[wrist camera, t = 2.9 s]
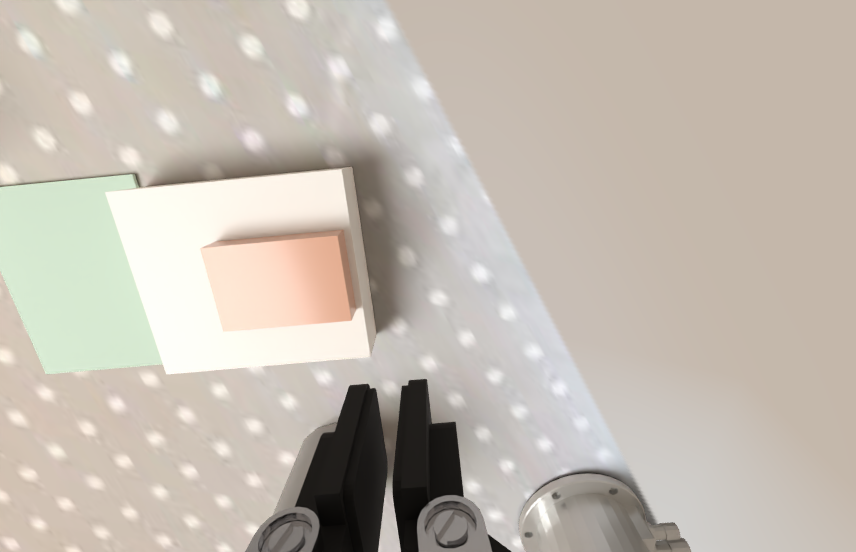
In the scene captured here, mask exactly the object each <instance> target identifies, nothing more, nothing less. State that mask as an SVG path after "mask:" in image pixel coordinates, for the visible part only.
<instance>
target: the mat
mask: <svg viewBox="0 0 856 552" xmlns="http://www.w3.org/2000/svg"><path fill="white" fill-rule="evenodd" d="M132 188H139V186H138V183H137V179H136V176H135V174H129V175H119V176H108V177H98V178H88V179H77V180H67V181H57V182H47V183H36V184H26V185H16V186H6V187H0V272H1V274H2V276H3V278H4V281H5V283H6V285H7V287H8V290H9V292H10V294H11V296H12V299H13V301H14V303H15V305H16V308H17V310H18V312H19V314H20V317H21V319H22V321H23V323H24V326H25V328H26V330H27V332H28V335H29V337H30V339H31V341H32V344H33V346H34V348H35V350H36V353H37V355H38V357H39V359H40V362H41V364H42V366H43V368H44V371H45V373H46V374H55V373H66V372H78V371H90V370H101V369H113V368H125V367H136V366H148V365H160V364H163V363H162V360H161V357H160V354H159V351H158V348H157V345H156V342H155V339H154V336H153V333H152V330H151V327H150V324H149V321H148V318H147V315H146V312H145V309H144V306H143V303H142V300H141V297H140V295H139V292H138V289H137V286H136V283H135V280H134V277H133V274H132V271H131V268H130V265H129V262H128V259H127V256H126V253H125V250H124V247H123V244H122V241H121V238H120V235H119V232H118V229H117V226H116V223H115V220H114V218H113V215H112V212H111V209H110V206H109V203H108V200H107V197H106V194H105V192H109V191H117V190H124V189H132Z"/></svg>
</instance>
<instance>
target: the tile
mask: <svg viewBox="0 0 856 552" xmlns="http://www.w3.org/2000/svg"><path fill="white" fill-rule="evenodd" d="M200 250H201V254H202V257H203V261H204V264H205V268H206V272H207V275H208V279H209V283H210V286H211V290H212V293H213V297H214V301H215V304H216V308H217V311H218V315H219V319H220V322H221V326H222V330H223V332H228V331H240V330H251V329H263V328H274V327H285V326H297V325H308V324H320V323H331V322H343V321H352V318H353V316H354V314H355V312H356V304H355V298H354V291H353V285H352V279H351V273H350V266H349V260H348V254H347V248H346V241H345V235H344V230H333V231H322V232H312V233H301V234H290V235H279V236H269V237H258V238H247V239H236V240H226V241H215V242H213V243H211V244H209V245H206V246H204V247H202V248H200Z"/></svg>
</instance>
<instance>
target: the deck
mask: <svg viewBox="0 0 856 552" xmlns="http://www.w3.org/2000/svg"><path fill="white" fill-rule="evenodd" d="M105 194H106V197H107V200H108V203H109V206H110V209H111V212H112V215H113V218H114V220H115V223H116V226H117V229H118V232H119V235H120V238H121V241H122V244H123V247H124V250H125V253H126V256H127V259H128V262H129V265H130V268H131V271H132V274H133V277H134V280H135V283H136V286H137V289H138V292H139V295H140V297H141V300H142V303H143V306H144V309H145V312H146V315H147V318H148V321H149V324H150V327H151V330H152V333H153V336H154V339H155V342H156V345H157V348H158V351H159V354H160V357H161V360H162V363H163V366H164V369H165V372H166V374H176V373H188V372H200V371H211V370H223V369H235V368H247V367H258V366H270V365H282V364H293V363H305V362H317V361H329V360H340V359H352V358H364V357H371V353H372V349H373V346H374V342H375V338H376V334H377V333H376V326H375V319H374V312H373V305H372V298H371V291H370V285H369V278H368V271H367V264H366V257H365V250H364V243H363V237H362V230H361V223H360V216H359V209H358V202H357V195H356V189H355V182H354V175H353V168H352V167H344V168H334V169H324V170H313V171H303V172H293V173H282V174H272V175H262V176H251V177H241V178H231V179H220V180H210V181H199V182H189V183H179V184H168V185H158V186H148V187H140V188H132V189H124V190H117V191H109V192H105ZM333 230H344V235H345V241H346V248H347V254H348V260H349V266H350V273H351V279H352V285H353V291H354V298H355V304H356V312H355V314H354V316H353V318H352V321H343V322H331V323H320V324H308V325H297V326H285V327H274V328H263V329H251V330H240V331H228V332H223V330H222V326H221V322H220V319H219V315H218V311H217V308H216V304H215V301H214V297H213V293H212V290H211V286H210V283H209V279H208V275H207V272H206V268H205V264H204V261H203V257H202V254H201V250H200V248H202V247H204V246H206V245H209V244H211V243H213V242H215V241H226V240H236V239H247V238H258V237H269V236H279V235H290V234H301V233H312V232H322V231H333Z"/></svg>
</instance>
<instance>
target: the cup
mask: <svg viewBox="0 0 856 552" xmlns="http://www.w3.org/2000/svg"><path fill="white" fill-rule="evenodd" d="M336 426H337V423H333V424H330V425H326V426H323V427H319V428H317V429H316V430H315V431H314V432H312V433H311V434H310V435H309V436H308V437H307V438H306V439H305V440H304V442H303V444H302V446H301V449H300V451H299V454H298V456H297V458H296V461H295V463H294V466H293V468H292V470H291V473H290V475H289V478H288V480H287V482H286V485H285V487H284V490H283V492H282V494H281V497H280V499H279V502H278V504H277V506H276V509H275V511H274V513H273V515H275V514H276V513H278V512H280V511H282V510H285V509H288V508H293V507H295V505H296V502H297V499H298V496H299V494H300V491H301V488H302V486H303V483H304V480H305V477H306V475H307V472H308V469H309V466H310V464H311V461H312V458H313V456H314V453H315V450H316V447H317V445H318V442H319V439H320V437H321V435H322V434H323V433H326V432H335V429H336Z"/></svg>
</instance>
